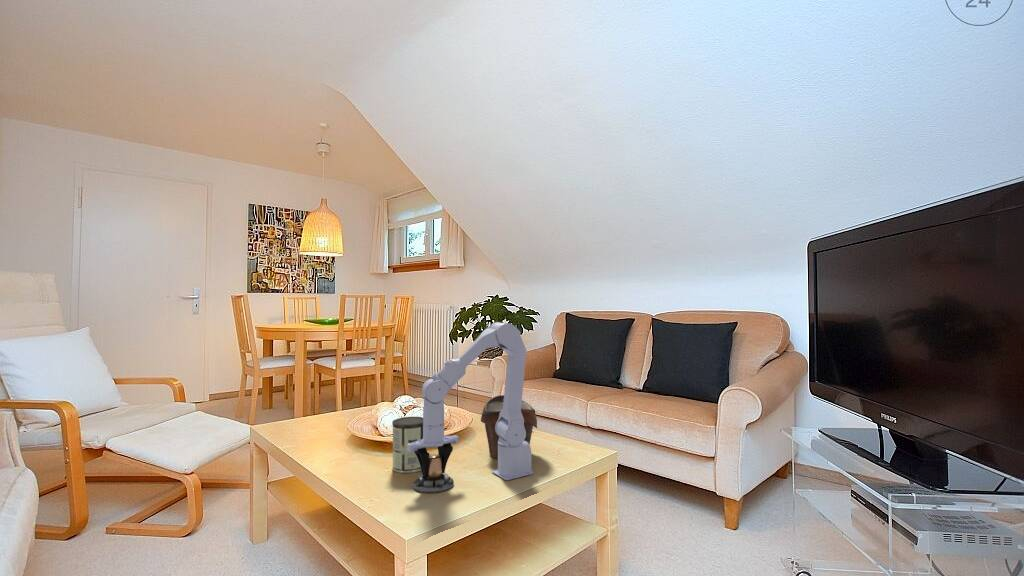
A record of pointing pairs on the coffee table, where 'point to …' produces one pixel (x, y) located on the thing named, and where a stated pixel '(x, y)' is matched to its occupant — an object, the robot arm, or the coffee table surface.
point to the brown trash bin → (492, 416)
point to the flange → (433, 484)
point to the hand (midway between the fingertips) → (433, 473)
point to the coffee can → (402, 435)
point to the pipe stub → (434, 467)
